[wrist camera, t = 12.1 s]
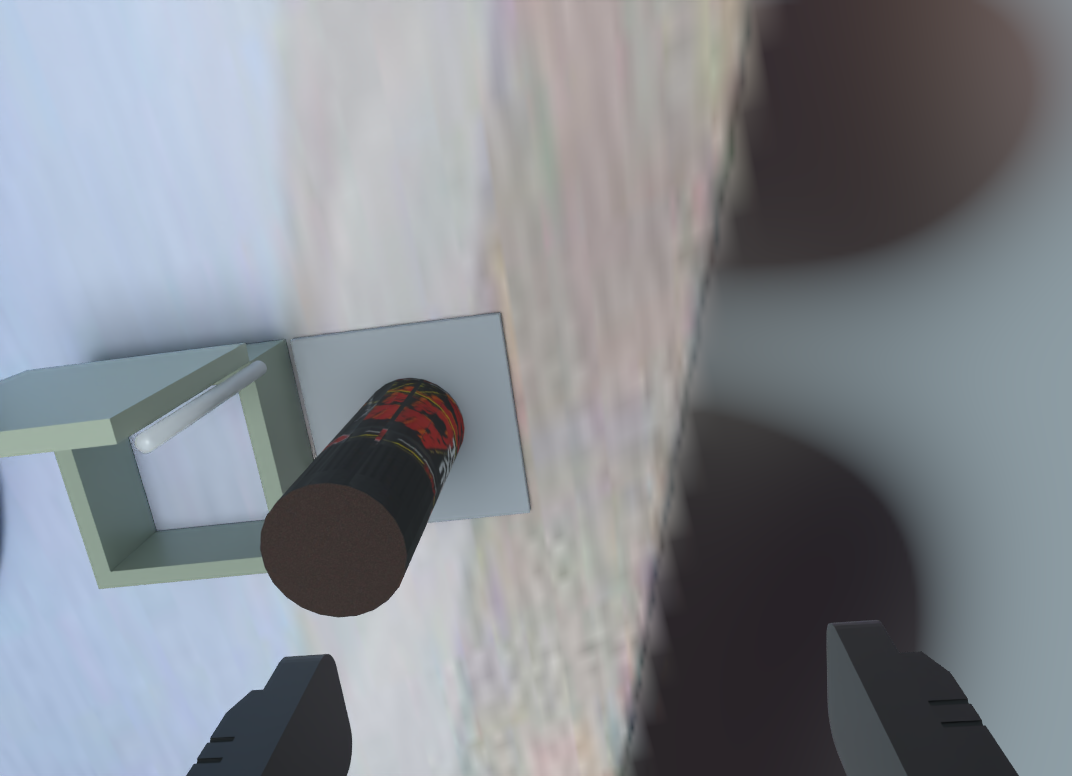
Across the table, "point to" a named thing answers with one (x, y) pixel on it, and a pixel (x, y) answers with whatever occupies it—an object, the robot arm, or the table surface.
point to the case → (108, 461)
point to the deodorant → (364, 501)
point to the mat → (446, 360)
